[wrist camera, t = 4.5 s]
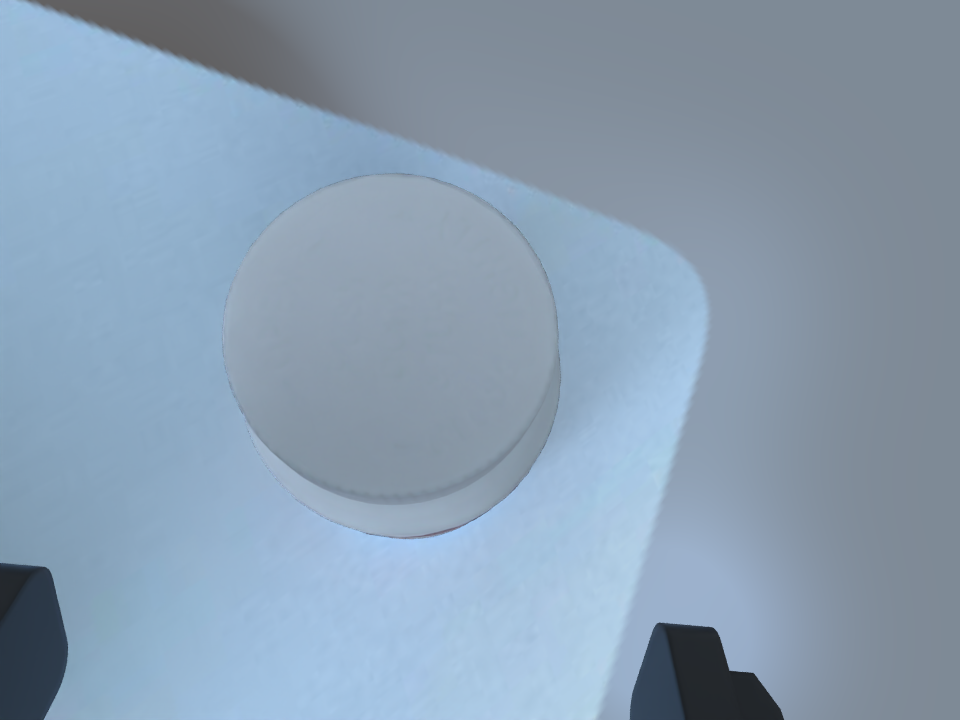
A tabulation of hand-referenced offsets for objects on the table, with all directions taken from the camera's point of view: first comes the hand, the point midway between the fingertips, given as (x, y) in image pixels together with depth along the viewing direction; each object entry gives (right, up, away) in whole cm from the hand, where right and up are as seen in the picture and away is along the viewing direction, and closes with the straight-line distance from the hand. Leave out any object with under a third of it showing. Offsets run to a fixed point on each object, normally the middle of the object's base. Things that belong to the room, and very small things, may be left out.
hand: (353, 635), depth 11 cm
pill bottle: (0, +2, +12) cm, 13 cm away
